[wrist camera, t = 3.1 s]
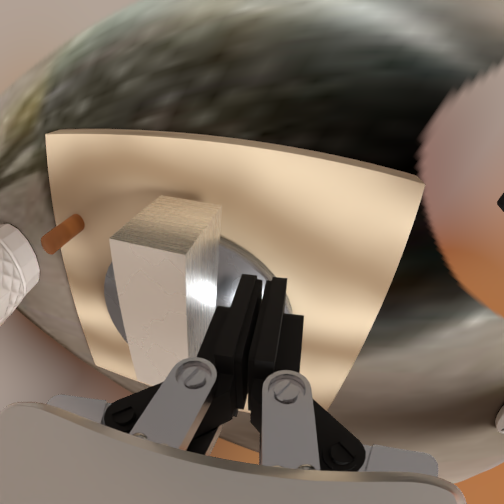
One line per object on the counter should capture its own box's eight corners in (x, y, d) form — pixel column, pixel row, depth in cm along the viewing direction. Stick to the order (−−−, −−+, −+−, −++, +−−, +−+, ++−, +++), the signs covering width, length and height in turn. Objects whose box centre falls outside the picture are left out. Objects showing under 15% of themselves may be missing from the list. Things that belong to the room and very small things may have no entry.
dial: (275, 391, 21) (263, 455, 17) (126, 351, 23) (94, 402, 18) (323, 214, 14) (324, 282, 10) (97, 179, 15) (30, 220, 11)
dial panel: (319, 410, 25) (315, 454, 21) (102, 354, 27) (80, 387, 23) (416, 175, 14) (448, 208, 10) (60, 129, 16) (10, 147, 12)
